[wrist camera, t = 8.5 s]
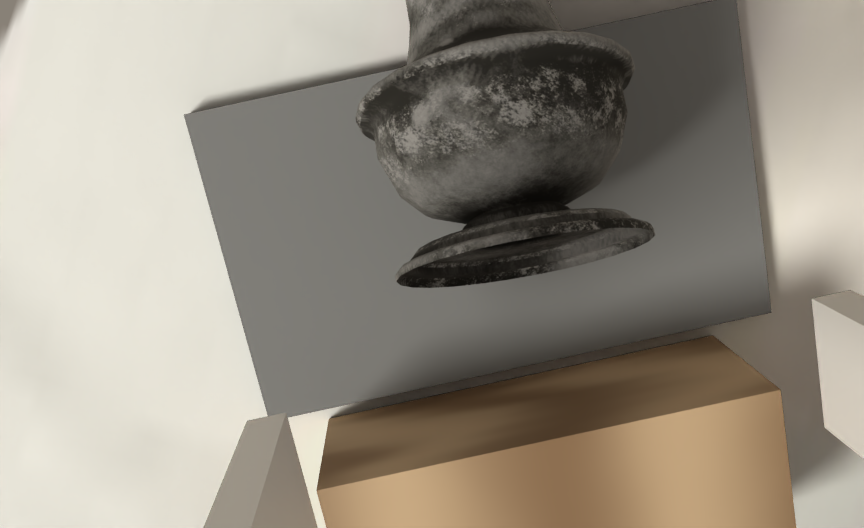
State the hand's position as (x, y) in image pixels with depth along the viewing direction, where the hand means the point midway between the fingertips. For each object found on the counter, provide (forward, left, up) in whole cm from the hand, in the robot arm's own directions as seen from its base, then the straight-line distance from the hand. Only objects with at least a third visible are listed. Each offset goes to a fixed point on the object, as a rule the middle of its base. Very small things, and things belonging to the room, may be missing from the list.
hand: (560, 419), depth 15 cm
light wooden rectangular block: (0, -5, -7) cm, 8 cm away
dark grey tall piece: (0, +3, -2) cm, 3 cm away
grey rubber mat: (0, +3, -7) cm, 7 cm away
